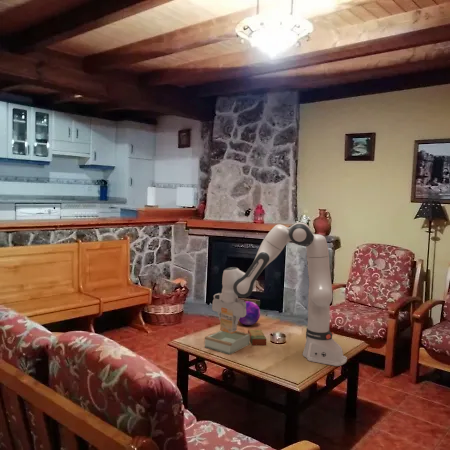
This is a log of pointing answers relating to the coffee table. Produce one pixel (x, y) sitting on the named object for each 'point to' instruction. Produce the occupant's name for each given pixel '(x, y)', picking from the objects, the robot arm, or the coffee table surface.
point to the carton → (257, 338)
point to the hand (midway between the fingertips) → (228, 322)
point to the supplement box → (228, 321)
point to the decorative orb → (250, 314)
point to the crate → (227, 341)
